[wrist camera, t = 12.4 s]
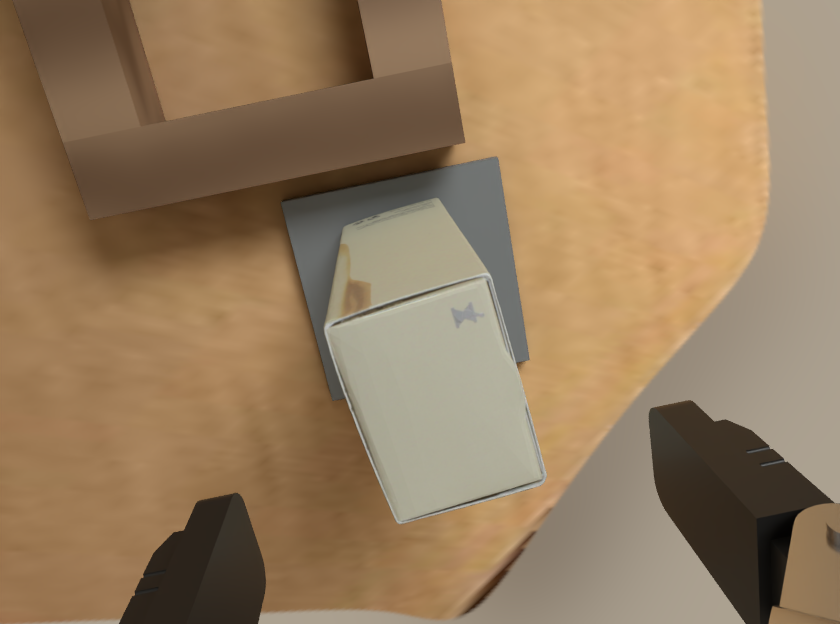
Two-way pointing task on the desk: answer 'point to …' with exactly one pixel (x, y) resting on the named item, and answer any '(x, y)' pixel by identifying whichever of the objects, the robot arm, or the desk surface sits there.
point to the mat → (454, 186)
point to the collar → (234, 127)
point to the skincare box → (428, 365)
